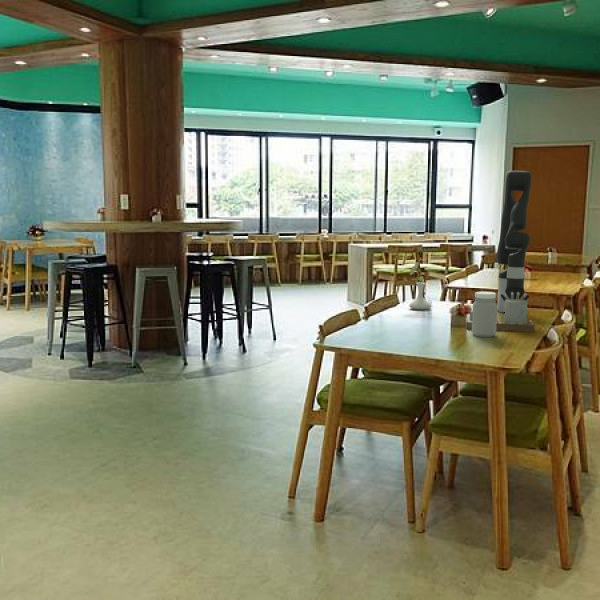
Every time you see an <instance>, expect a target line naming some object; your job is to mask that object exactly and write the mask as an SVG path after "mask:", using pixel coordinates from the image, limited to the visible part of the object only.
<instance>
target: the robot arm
mask: <svg viewBox="0 0 600 600" xmlns="http://www.w3.org/2000/svg"><path fill="white" fill-rule="evenodd" d="M505 178H506V179H505V191H504V202H503V209H502V214H501V215H502V216H501V222H500V223H501V224H500V235H499V240H498V244H497V246H498V247H497V250H496V251H497V252H496V257H495V258H496V263H497V264H498V265H503V266H505V265H506V266H507V269H505V270H501V271H500V272H498V285H497V286H498V287H497V288H498V289H497V312H498V311H499V313H504V312H505V300H506V299H521V300H527V301H528V299H529V298H530V295H529V294H528V293H527V292H526V291H525V277H526V276H525V260H526V259H525V258H526V254H527V250H528V247H529V245H530V242H531V236H530V234H529V233H528V232H527V231H525V232H523V231H524V230H525V228H526V227H527V218H528V217H527V216H528V215H527V212H528V207H529V199H530V195H531V188H532V187H531V186H532V173H531V172H530V171H528V170H509V171H507V174H506V177H505ZM513 191H514V192H522V194H521V196H520V197H519V199H518V200H517V202H516V200H515V197H514V195H513V194H514V193H513ZM520 231H522V232H520Z"/></svg>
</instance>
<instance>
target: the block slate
mask: <svg viewBox="0 0 600 600" xmlns="http://www.w3.org/2000/svg"><path fill="white" fill-rule="evenodd" d="M472 318H473V309H472V310H470V311H469V320H470V321H472Z"/></svg>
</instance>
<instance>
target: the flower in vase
mask: <svg viewBox="0 0 600 600" xmlns="http://www.w3.org/2000/svg"><path fill="white" fill-rule="evenodd" d="M419 265H420V263H419V262H418V261H417V262H415V264H414V265H413V266H412V267H411V269H410V270H409V276H412V275H413V274H415V272H416V273H417V277H415V279H414V282H415V284H416V285H417V291H418V293H417V297H416V298H415V299H414V300H413V301H411V302H410V303H409V305H408V306H409V308H410V309H412V310H413V309H414V310H419V311H420V310H421V311H422V310H429V309H431V307H432V305H431V304H430V302H429V301H427V300H426V298H424V296H423V295H424V294H423V293H424V291H423V290H424V286H425V285H426V282H422V281H423V280H424V276H423V275H421V276H420V275H419V271H418V268H419ZM418 281H419V282H418Z"/></svg>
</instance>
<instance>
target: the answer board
mask: <svg viewBox="0 0 600 600" xmlns="http://www.w3.org/2000/svg"><path fill="white" fill-rule="evenodd" d="M465 323H466V324H465V329H466V330H472V321H469V319H468V317H465ZM504 330H520V331H519V332H529V331H534V332H535V323H534V321H532V320H531V319H528V323H526V324H523V323H518V324H516V323H511V324H507V323H504V322H503V323H502V322H501V320H500V318H497V324H496V331H504Z"/></svg>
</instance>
